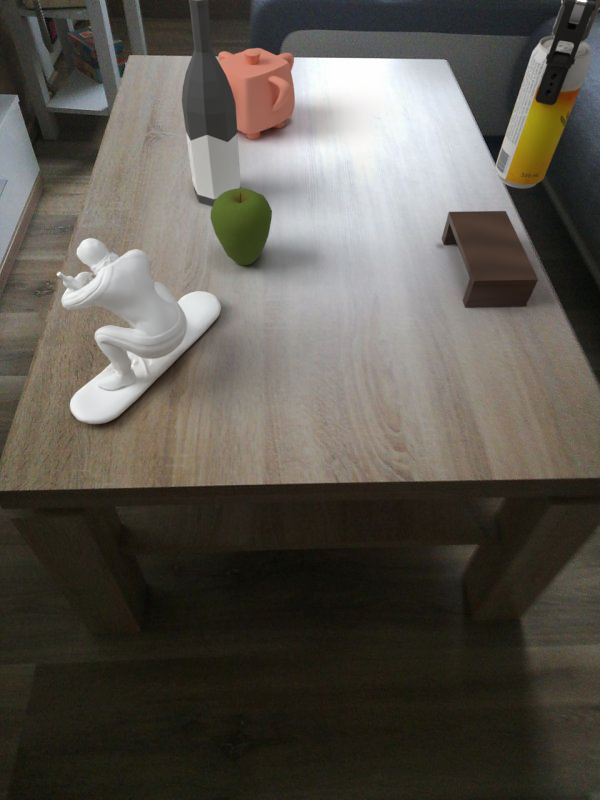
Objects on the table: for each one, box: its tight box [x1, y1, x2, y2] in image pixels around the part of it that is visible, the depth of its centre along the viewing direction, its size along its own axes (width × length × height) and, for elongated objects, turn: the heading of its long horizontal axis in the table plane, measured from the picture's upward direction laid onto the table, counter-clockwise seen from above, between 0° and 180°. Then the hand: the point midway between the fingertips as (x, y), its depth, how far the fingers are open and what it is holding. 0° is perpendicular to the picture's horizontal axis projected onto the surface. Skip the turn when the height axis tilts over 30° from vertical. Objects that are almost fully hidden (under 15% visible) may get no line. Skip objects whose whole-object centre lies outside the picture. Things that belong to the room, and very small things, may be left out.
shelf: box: [441, 210, 539, 308], centre depth 83 cm, size 16×9×5 cm, turn 3°
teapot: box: [217, 47, 296, 140], centre depth 105 cm, size 17×16×13 cm
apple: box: [209, 187, 273, 266], centre depth 81 cm, size 9×8×12 cm
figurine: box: [56, 237, 222, 425], centre depth 66 cm, size 26×13×17 cm, turn 148°
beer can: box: [494, 35, 592, 189], centre depth 64 cm, size 6×6×15 cm
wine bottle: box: [181, 0, 242, 207], centre depth 84 cm, size 8×8×30 cm
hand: (550, 89), depth 62 cm, fingers closed on beer can, 6 cm apart
